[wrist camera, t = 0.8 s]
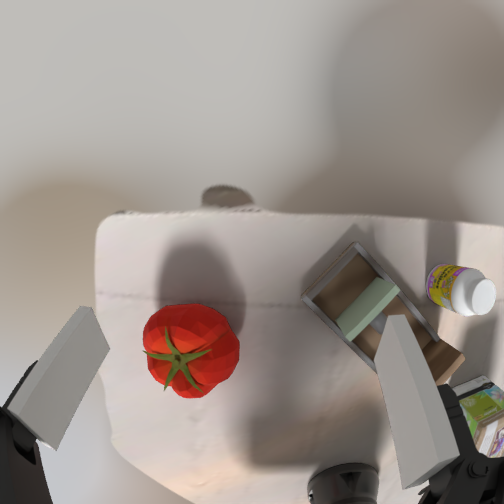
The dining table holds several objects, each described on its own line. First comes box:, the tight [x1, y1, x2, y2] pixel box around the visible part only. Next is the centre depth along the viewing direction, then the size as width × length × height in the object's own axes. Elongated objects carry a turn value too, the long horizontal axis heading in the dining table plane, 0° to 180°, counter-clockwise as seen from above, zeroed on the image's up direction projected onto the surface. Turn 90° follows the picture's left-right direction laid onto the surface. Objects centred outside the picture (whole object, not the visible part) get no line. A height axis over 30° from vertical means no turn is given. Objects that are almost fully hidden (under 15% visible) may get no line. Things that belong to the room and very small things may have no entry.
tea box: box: [452, 375, 504, 458], centre depth 31 cm, size 15×10×15 cm, turn 8°
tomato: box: [143, 304, 239, 398], centre depth 38 cm, size 13×14×12 cm
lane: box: [301, 242, 466, 386], centre depth 36 cm, size 23×11×10 cm, turn 46°
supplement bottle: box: [426, 264, 496, 316], centre depth 33 cm, size 7×7×13 cm
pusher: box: [335, 277, 400, 342], centre depth 35 cm, size 5×9×8 cm, turn 136°
